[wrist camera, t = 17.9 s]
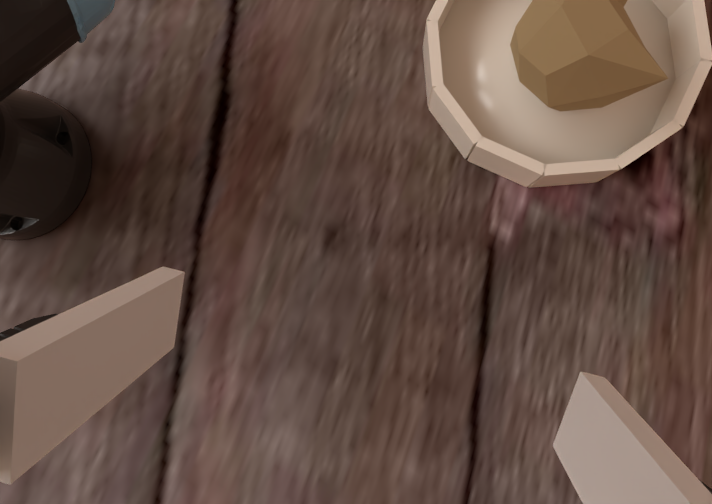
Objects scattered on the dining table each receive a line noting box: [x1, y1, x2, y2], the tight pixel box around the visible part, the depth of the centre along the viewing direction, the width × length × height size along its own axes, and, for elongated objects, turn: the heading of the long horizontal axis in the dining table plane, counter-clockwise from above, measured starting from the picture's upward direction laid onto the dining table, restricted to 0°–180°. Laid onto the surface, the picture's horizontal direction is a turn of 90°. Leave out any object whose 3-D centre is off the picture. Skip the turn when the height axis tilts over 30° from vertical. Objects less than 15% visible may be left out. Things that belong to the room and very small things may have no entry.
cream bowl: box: [423, 0, 712, 188], centre depth 42 cm, size 24×24×4 cm
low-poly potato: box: [510, 0, 668, 111], centre depth 38 cm, size 15×11×12 cm
